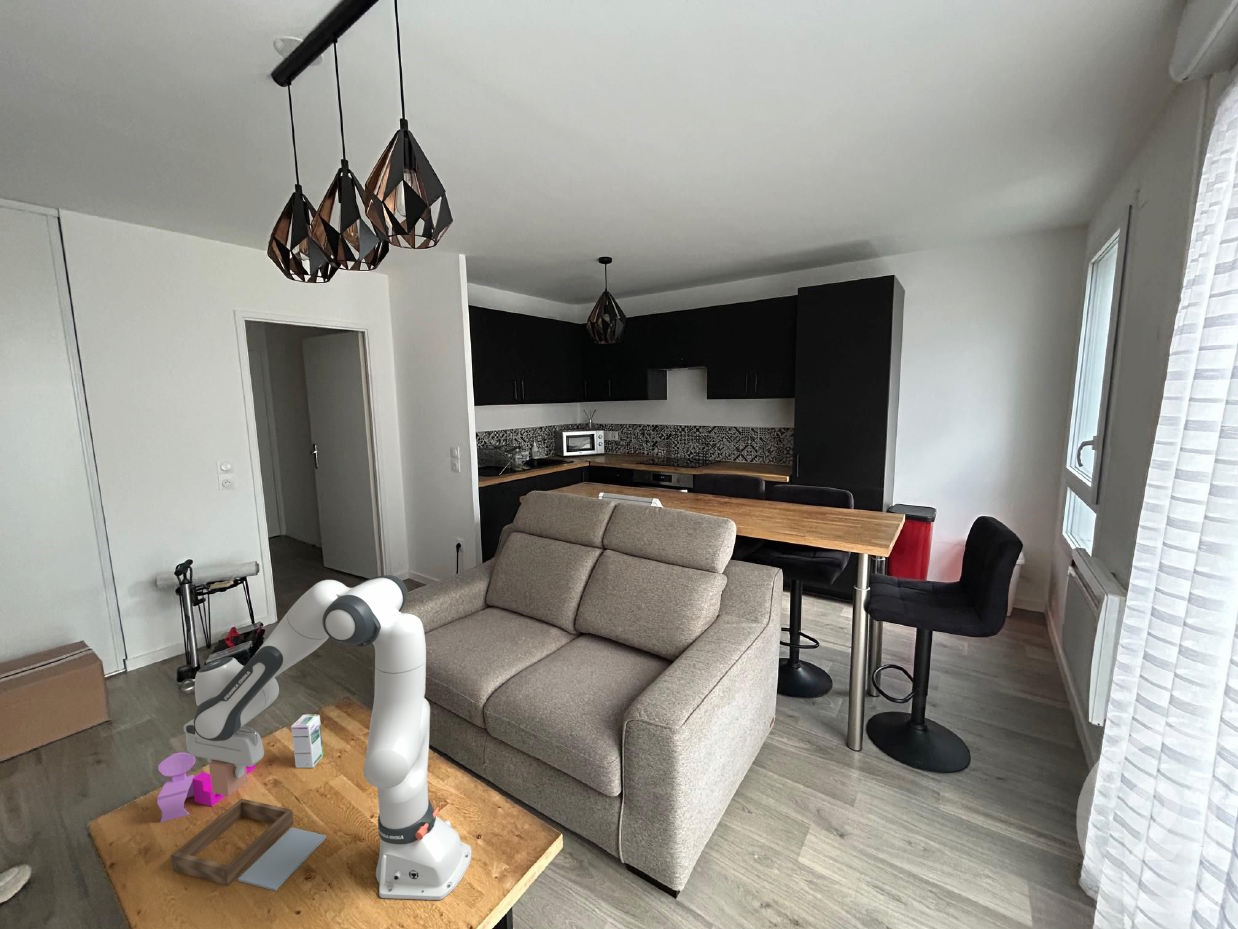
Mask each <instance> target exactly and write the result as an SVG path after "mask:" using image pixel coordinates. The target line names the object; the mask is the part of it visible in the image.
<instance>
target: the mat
mask: <svg viewBox="0 0 1238 929" xmlns="http://www.w3.org/2000/svg"><path fill="white" fill-rule="evenodd" d="M326 838H327V834H322V833H317V832H314V831H309V830H304V829H301V828H300V829H299V828H298V827H297V828H296V827H290V828H289V829H288V830H287V831H286V832H285V833H284V834H283V835H282V836H281V837H280V838H279V839H278V840H277V841H275V842H274V843H273V844H272V845H271V846H270V847H269V848H268V849H267V850H266V851H265V852H264V853H263V854H262V855H261V856H260V857H259V858H257V859H256V860H255V861H254V862H253V863H252V864H251V865H250V866H249V867H248V868H247V869H246V870H245V871H244V872H243V873H242V874H240V875H239V876H238V877H237V881H238V882H242V883H245V884H248V885H252V886H256V887H260V888H264V889H268V890H271V891H275V892H277V890H278V889H279V888H280V887H282V885H283V884H284V883H285V882H286V881H287V880H288V878H290V876H291V875H292V874H293V873H295V871H296V870H297V869H298V868H299V867H300V866H301V865H302V864H303V863H304V862H305V861H306V860H307V859H308V857H309V856H310V855H311V854H312V853H313V852H314V851H315V850H316V849H317V848H318V847H319V846H320V845H321V844H322V843H323V842H324V841H325V839H326Z"/></svg>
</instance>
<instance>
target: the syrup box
mask: <svg viewBox="0 0 1238 929" xmlns="http://www.w3.org/2000/svg"><path fill="white" fill-rule="evenodd" d="M320 716H321V715H320V714H313V713H310V714H302V715H301V716H300V717H299V718H298V719H297V720H296V721H295V722H294V723H293V724H292V725H291V726H290V729H291V737H292V739H291V740H292V745H293V746H292V747H293V753H294V754H293V755H294V756H293V757H294V762H295V763H294V764H295V768H296V769H297V768H298V769H314V768H315V766H316V765H317V764H318V763H319V761H321V759H322V758H323V757H324V754H325V752H324V751H325V750H324V742H323V736H322V735H323V734H322V725H321V717H320Z"/></svg>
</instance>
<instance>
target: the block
mask: <svg viewBox="0 0 1238 929" xmlns="http://www.w3.org/2000/svg"><path fill="white" fill-rule="evenodd" d="M236 767H237V766H235V764H233V763H228V762H223V761H217V760H213V761H212V762H210V763H208V768H209V774H210V776H211V784H212V792H213V793H216V794H220V795H225V797H230V796H231V795H232V794H233V793H235V792H236V791H237V790H239V789H240V788H241V787H243V786H244V785H245V784H246V783H248V774H247V772H246V766H245V767H244V774H243V775H242V776H241V777H240V778H236V777H233V771H234V770H235V769H236Z"/></svg>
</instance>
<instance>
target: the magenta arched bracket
mask: <svg viewBox="0 0 1238 929" xmlns="http://www.w3.org/2000/svg"><path fill="white" fill-rule="evenodd" d="M255 769H256V764H254V765H253V766H251V767H248V766H246V772H247V775H248V774H249V773H251V772H252V771H254V770H255ZM193 787H194V795H195V796H194V801H195V802H194V803H197V804H202V805H205V806H208V807H213V806H215V805H216V804H217V803H218V802H220V801H221V800H223V799H224V798H225V797H226V796H225V795H220V794H216V793H213V792H212V784H211V776H210V773H207V772H203V771H202V772H200V773H199V774H198V775H197V774H196V775H195V777H194V778H193Z"/></svg>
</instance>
